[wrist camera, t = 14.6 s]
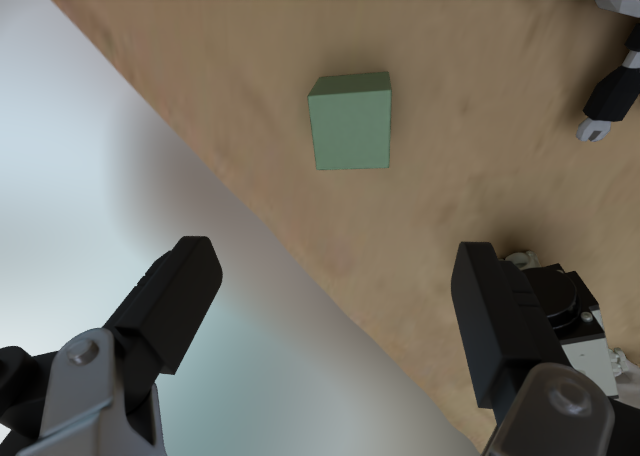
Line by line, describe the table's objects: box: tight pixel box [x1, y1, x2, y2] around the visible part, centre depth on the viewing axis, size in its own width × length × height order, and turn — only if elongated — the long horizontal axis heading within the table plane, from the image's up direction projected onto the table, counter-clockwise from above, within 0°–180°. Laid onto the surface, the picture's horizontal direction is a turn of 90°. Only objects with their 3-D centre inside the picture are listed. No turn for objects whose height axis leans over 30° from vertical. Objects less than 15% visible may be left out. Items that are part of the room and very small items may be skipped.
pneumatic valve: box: [499, 251, 628, 399], centre depth 26 cm, size 6×12×12 cm, turn 33°
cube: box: [308, 72, 392, 170], centre depth 22 cm, size 5×5×5 cm
